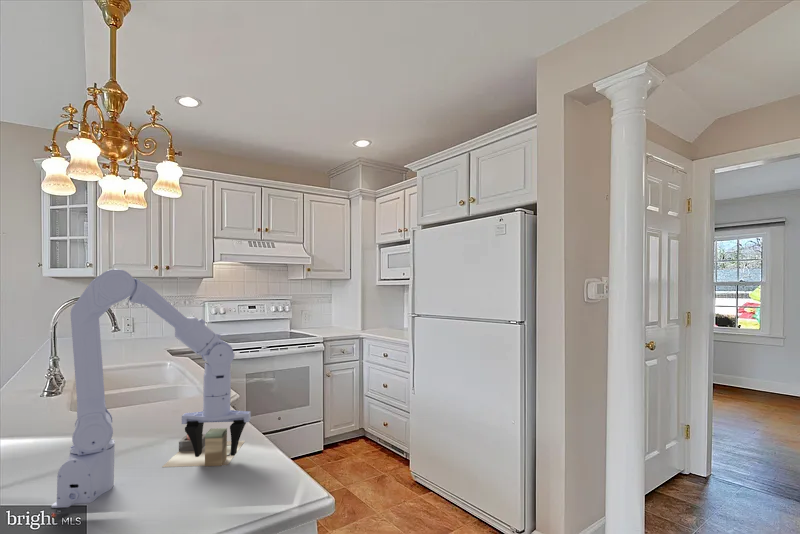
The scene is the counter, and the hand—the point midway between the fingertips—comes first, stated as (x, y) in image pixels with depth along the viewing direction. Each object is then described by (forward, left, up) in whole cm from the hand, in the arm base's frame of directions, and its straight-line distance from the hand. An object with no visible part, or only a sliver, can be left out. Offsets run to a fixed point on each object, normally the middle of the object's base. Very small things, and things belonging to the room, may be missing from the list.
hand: (216, 454), depth 98 cm
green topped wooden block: (0, 0, -2) cm, 2 cm away
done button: (+10, +9, 0) cm, 13 cm away
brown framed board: (+6, +4, -2) cm, 8 cm away
